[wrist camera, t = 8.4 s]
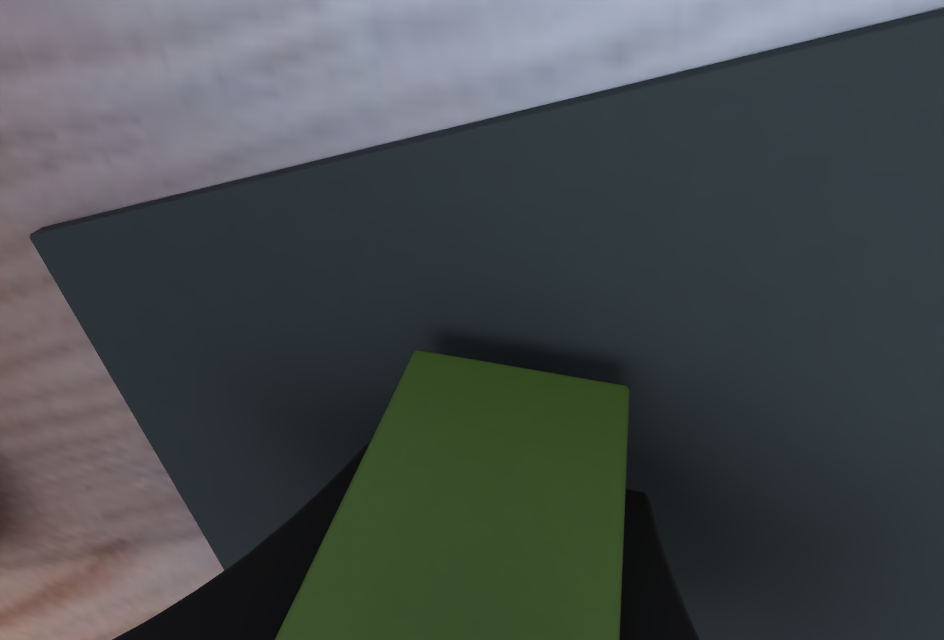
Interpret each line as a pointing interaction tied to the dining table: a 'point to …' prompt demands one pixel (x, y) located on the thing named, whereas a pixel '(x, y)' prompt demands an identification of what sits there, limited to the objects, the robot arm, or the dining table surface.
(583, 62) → the dining table surface
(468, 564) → the green stepped block
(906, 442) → the mat
